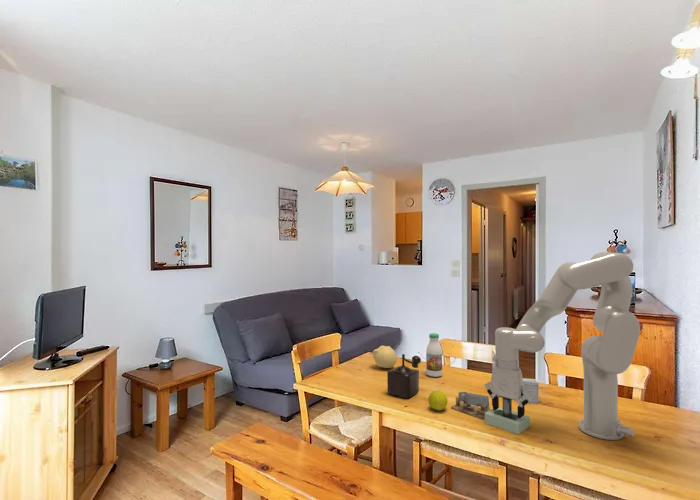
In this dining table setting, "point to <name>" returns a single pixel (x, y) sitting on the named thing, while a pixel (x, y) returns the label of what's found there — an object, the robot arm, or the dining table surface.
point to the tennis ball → (437, 400)
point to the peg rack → (470, 409)
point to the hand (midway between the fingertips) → (508, 412)
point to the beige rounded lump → (385, 356)
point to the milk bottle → (434, 356)
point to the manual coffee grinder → (404, 379)
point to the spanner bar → (474, 399)
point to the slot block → (507, 421)
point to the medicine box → (531, 389)
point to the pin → (507, 408)
